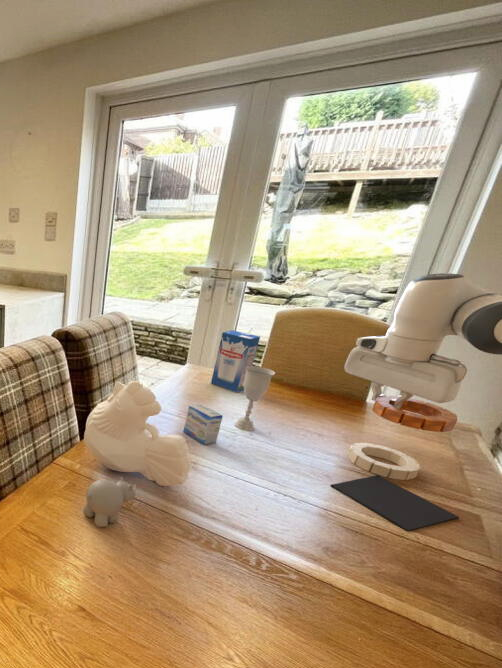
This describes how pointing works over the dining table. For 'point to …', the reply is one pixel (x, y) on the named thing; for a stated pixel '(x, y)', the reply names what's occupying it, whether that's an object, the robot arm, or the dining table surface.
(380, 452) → the bottom ring
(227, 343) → the milk carton
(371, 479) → the mat
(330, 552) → the dining table surface
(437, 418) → the top ring
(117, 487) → the toy rhinoceros
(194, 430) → the medicine box
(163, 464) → the decorative rooster
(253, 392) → the chalice
